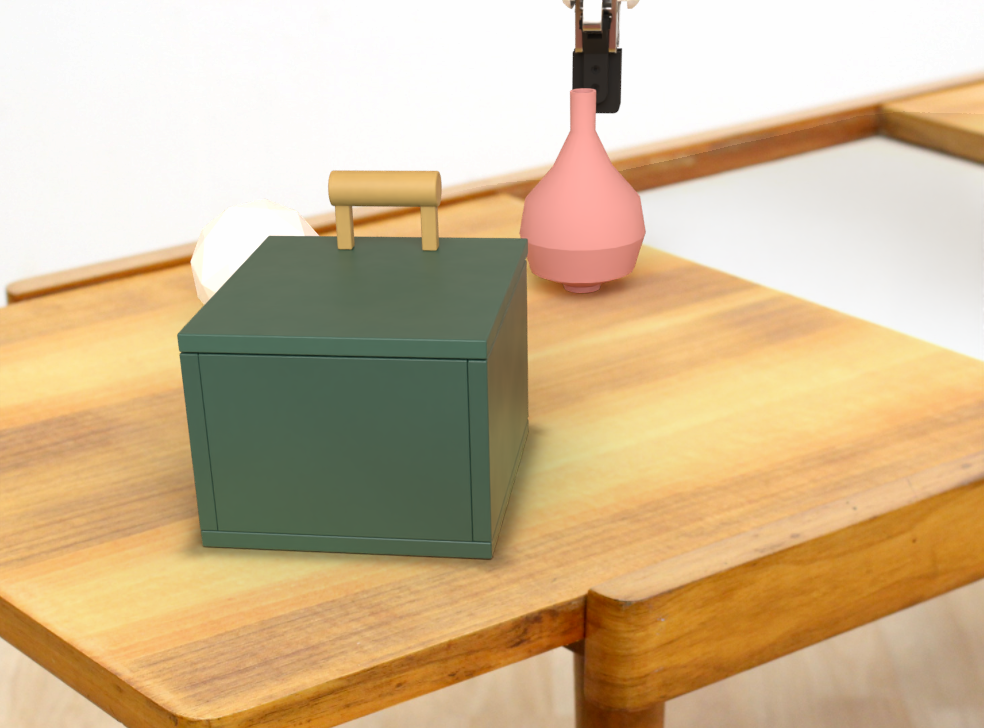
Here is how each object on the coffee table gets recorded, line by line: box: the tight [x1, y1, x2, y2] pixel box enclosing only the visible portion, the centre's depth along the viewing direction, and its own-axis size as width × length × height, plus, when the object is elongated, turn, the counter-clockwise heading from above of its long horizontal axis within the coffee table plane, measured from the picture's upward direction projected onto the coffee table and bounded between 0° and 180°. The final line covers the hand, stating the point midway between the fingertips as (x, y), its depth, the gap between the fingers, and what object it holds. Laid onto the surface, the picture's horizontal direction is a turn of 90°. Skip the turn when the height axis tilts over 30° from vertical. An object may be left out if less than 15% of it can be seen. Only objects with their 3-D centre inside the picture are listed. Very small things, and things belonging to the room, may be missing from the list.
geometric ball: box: [190, 198, 320, 306], centre depth 90 cm, size 8×8×8 cm
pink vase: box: [518, 88, 647, 294], centre depth 94 cm, size 8×8×12 cm
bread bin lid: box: [176, 169, 528, 359], centre depth 67 cm, size 14×13×4 cm
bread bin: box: [179, 259, 530, 560], centre depth 70 cm, size 14×13×9 cm
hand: (596, 110), depth 106 cm, fingers closed
